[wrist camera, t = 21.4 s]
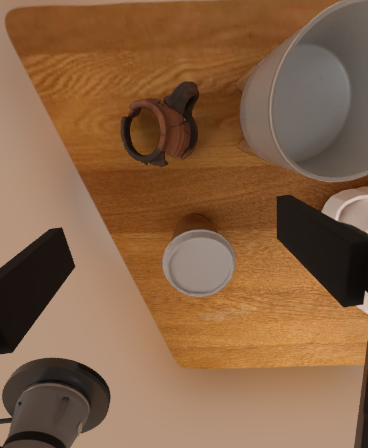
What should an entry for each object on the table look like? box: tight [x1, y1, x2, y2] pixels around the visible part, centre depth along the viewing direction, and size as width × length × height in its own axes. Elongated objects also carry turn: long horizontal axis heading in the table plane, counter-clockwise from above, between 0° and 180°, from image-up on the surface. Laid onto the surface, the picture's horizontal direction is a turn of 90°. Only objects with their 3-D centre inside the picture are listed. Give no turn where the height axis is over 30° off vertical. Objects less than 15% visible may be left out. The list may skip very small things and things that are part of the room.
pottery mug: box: [121, 81, 199, 167], centre depth 33 cm, size 12×10×8 cm
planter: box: [235, 0, 368, 182], centre depth 27 cm, size 13×13×18 cm
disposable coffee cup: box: [162, 214, 236, 297], centre depth 36 cm, size 10×10×12 cm
